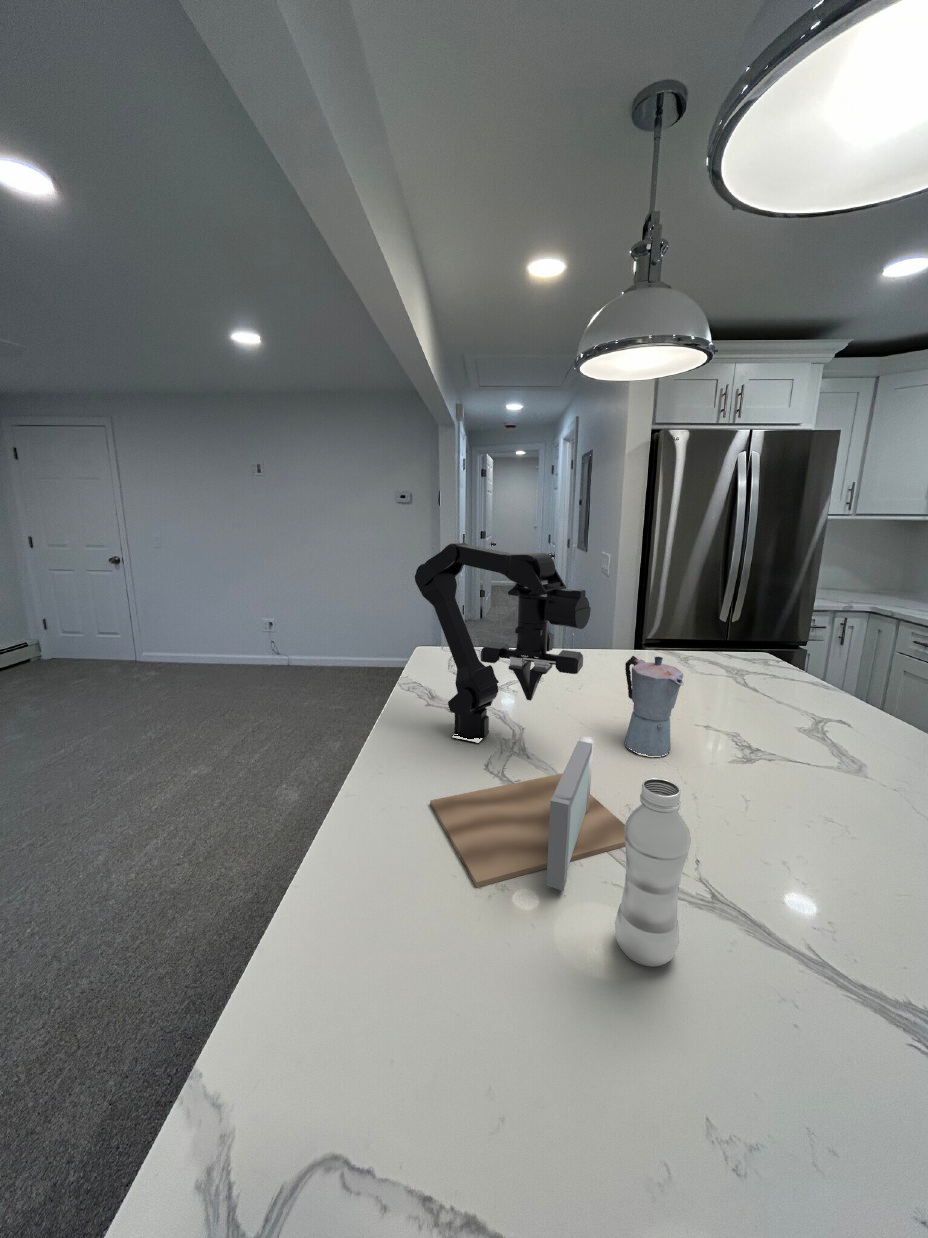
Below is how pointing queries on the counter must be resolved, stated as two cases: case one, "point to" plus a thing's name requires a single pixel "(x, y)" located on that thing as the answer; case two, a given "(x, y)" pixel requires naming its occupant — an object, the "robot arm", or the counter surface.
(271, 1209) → the counter surface
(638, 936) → the plastic bottle
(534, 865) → the walnut board
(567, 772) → the light blue panel
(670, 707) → the moka pot
